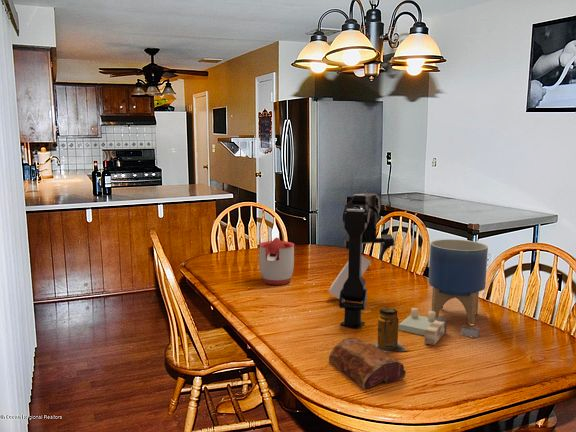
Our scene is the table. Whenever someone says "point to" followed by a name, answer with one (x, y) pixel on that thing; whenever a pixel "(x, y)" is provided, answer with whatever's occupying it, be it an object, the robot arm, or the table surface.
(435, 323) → the leg
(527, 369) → the table surface
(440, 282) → the planter
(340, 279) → the milk carton
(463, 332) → the stop block
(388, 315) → the condiment
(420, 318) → the stool seat
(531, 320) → the table surface
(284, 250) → the citrus juicer
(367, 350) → the cured meat
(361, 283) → the robot arm
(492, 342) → the table surface
